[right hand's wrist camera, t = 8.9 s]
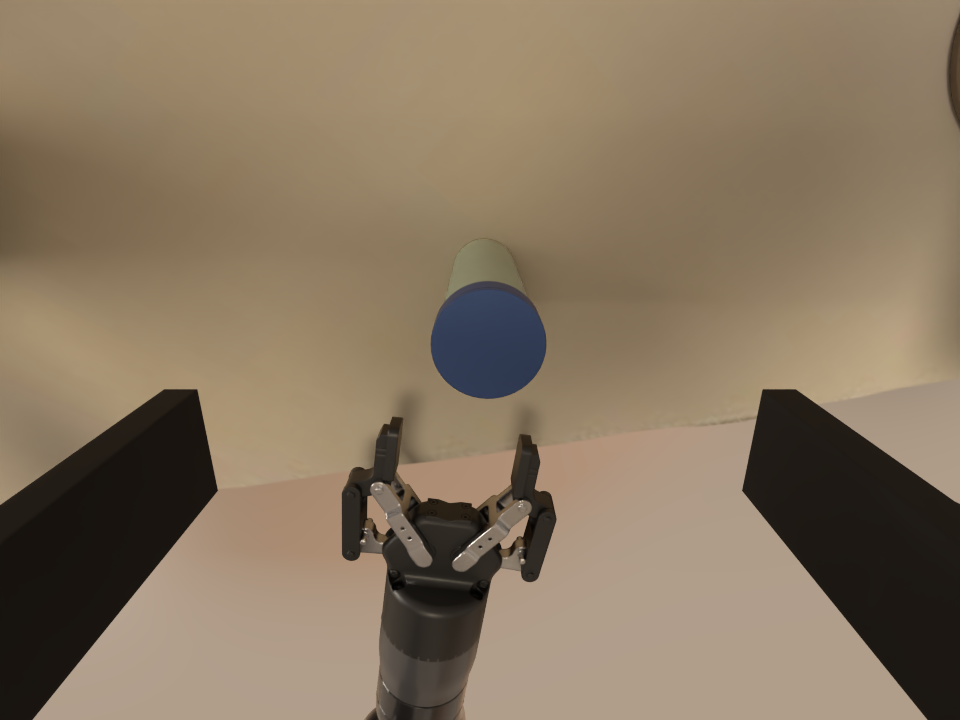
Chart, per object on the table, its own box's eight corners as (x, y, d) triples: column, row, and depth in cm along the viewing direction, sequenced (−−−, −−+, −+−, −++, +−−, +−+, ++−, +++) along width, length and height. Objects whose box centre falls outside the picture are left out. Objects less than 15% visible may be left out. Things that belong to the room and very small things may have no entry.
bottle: (440, 268, 37) (414, 341, 22) (485, 225, 36) (490, 268, 20) (483, 311, 38) (486, 409, 23) (527, 270, 37) (562, 344, 22)
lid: (411, 332, 23) (406, 344, 21) (489, 257, 22) (490, 264, 20) (485, 403, 24) (486, 419, 22) (563, 335, 23) (570, 347, 21)
